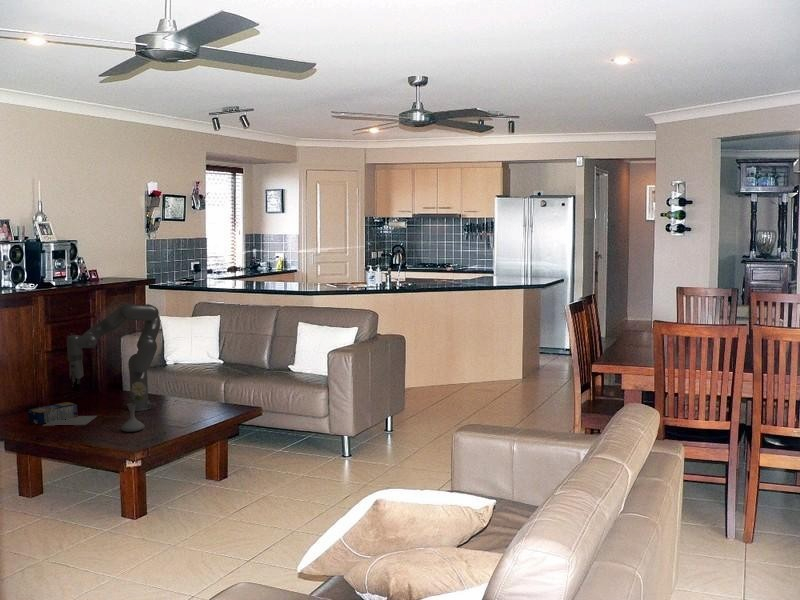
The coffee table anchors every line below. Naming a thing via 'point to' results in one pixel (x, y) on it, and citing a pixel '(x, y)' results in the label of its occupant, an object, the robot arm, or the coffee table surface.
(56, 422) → the mat
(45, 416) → the beverage box
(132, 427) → the flower in vase
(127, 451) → the coffee table surface
